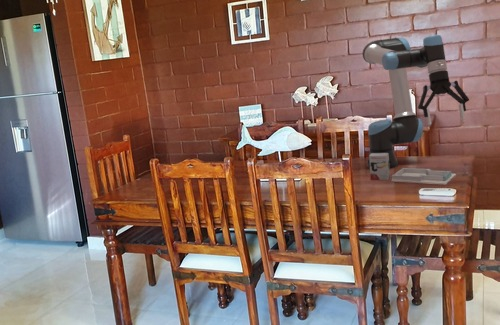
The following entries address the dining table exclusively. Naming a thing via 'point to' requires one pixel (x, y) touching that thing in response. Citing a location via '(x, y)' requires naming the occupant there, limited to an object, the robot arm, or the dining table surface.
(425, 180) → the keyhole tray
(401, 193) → the dining table surface
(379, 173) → the ink box
